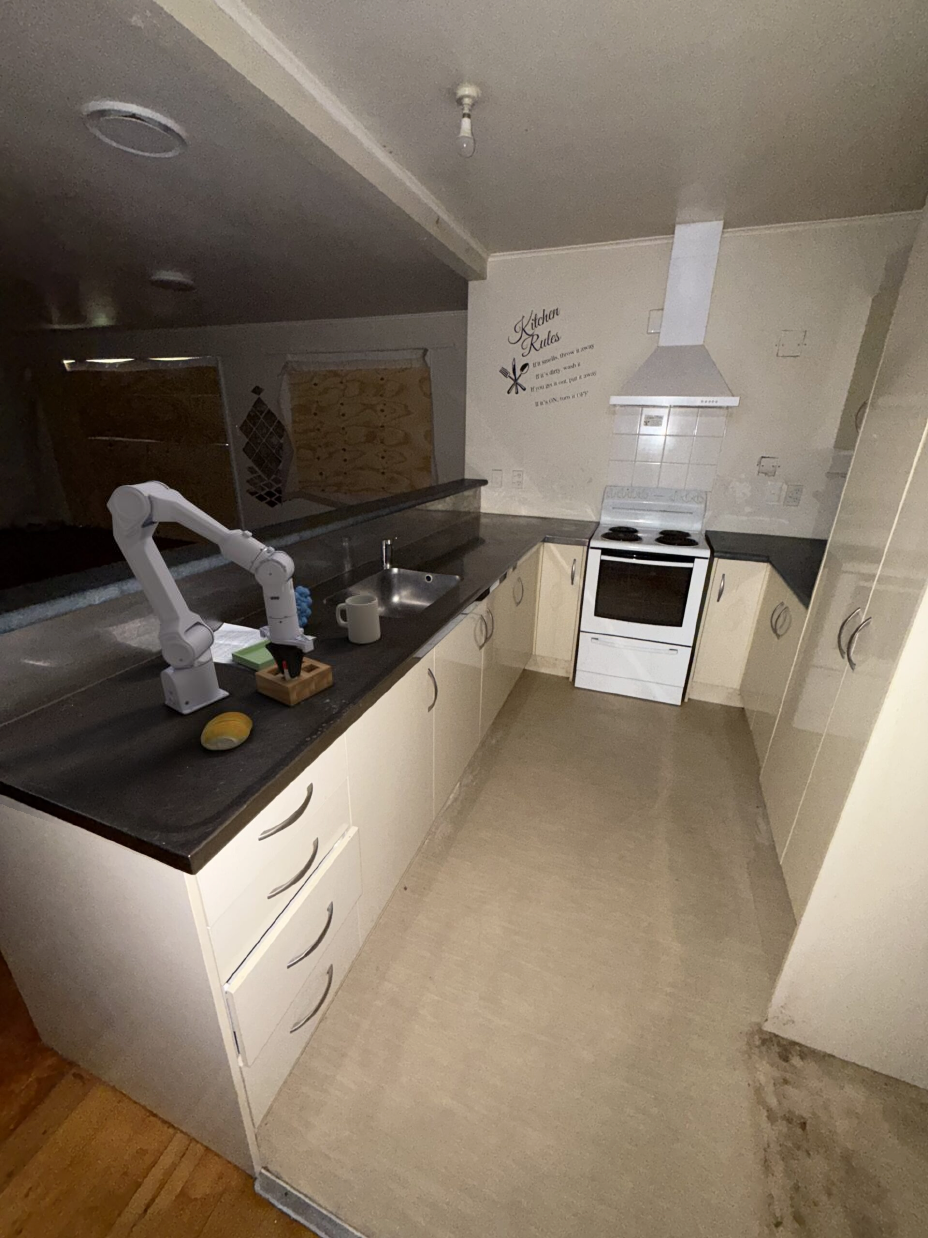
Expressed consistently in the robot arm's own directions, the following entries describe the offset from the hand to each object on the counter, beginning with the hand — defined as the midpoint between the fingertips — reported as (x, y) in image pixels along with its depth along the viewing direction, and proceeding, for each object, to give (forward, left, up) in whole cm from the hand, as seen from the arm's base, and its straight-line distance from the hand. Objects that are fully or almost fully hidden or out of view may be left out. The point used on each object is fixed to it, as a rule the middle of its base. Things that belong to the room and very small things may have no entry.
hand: (291, 674), depth 101 cm
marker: (0, 0, -5) cm, 5 cm away
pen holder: (+2, +2, -5) cm, 6 cm away
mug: (+30, +11, -5) cm, 33 cm away
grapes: (+26, +31, -5) cm, 41 cm away
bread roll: (-17, -3, -5) cm, 18 cm away
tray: (+10, +21, -5) cm, 24 cm away
